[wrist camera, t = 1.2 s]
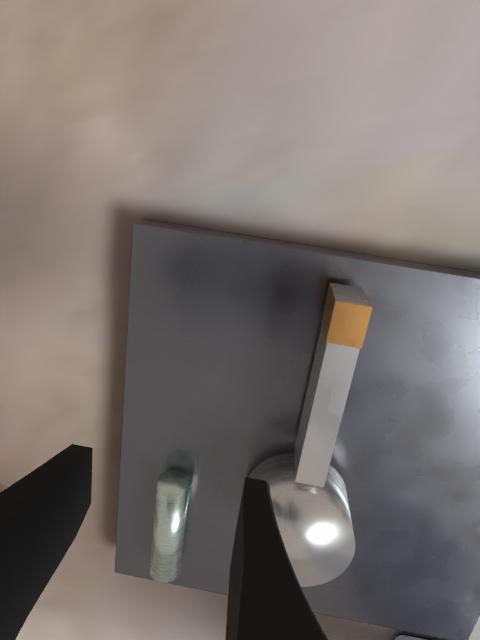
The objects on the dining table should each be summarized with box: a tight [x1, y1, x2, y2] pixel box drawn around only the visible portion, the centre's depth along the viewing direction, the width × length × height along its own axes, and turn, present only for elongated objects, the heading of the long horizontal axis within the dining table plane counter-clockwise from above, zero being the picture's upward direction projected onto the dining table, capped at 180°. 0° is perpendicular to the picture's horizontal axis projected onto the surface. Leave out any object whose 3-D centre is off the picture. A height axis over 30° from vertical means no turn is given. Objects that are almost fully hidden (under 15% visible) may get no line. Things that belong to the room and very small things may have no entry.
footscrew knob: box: [249, 282, 373, 587], centre depth 19 cm, size 14×5×3 cm, turn 172°
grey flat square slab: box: [115, 219, 480, 640], centre depth 21 cm, size 20×20×3 cm
